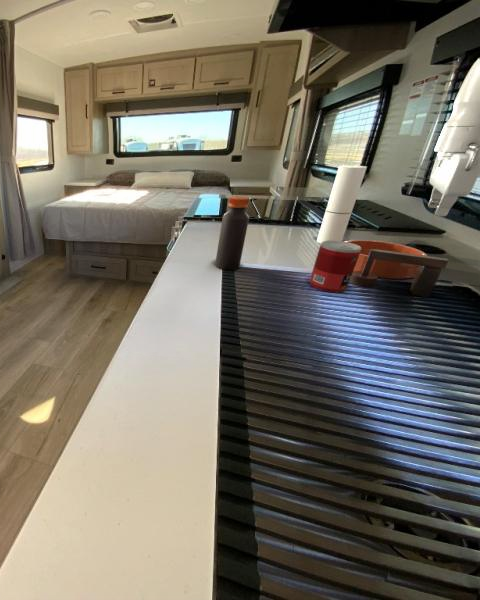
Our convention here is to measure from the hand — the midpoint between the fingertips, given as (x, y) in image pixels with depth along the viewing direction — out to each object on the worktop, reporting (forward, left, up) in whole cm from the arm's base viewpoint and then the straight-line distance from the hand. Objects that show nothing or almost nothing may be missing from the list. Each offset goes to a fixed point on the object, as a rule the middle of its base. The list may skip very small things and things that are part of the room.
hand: (436, 211), depth 73 cm
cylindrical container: (+17, -37, -19) cm, 45 cm away
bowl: (+5, -15, -19) cm, 25 cm away
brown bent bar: (+3, 0, -19) cm, 19 cm away
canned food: (+15, +7, -19) cm, 25 cm away
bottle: (+40, +6, -19) cm, 45 cm away
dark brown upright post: (-3, 0, -19) cm, 19 cm away
